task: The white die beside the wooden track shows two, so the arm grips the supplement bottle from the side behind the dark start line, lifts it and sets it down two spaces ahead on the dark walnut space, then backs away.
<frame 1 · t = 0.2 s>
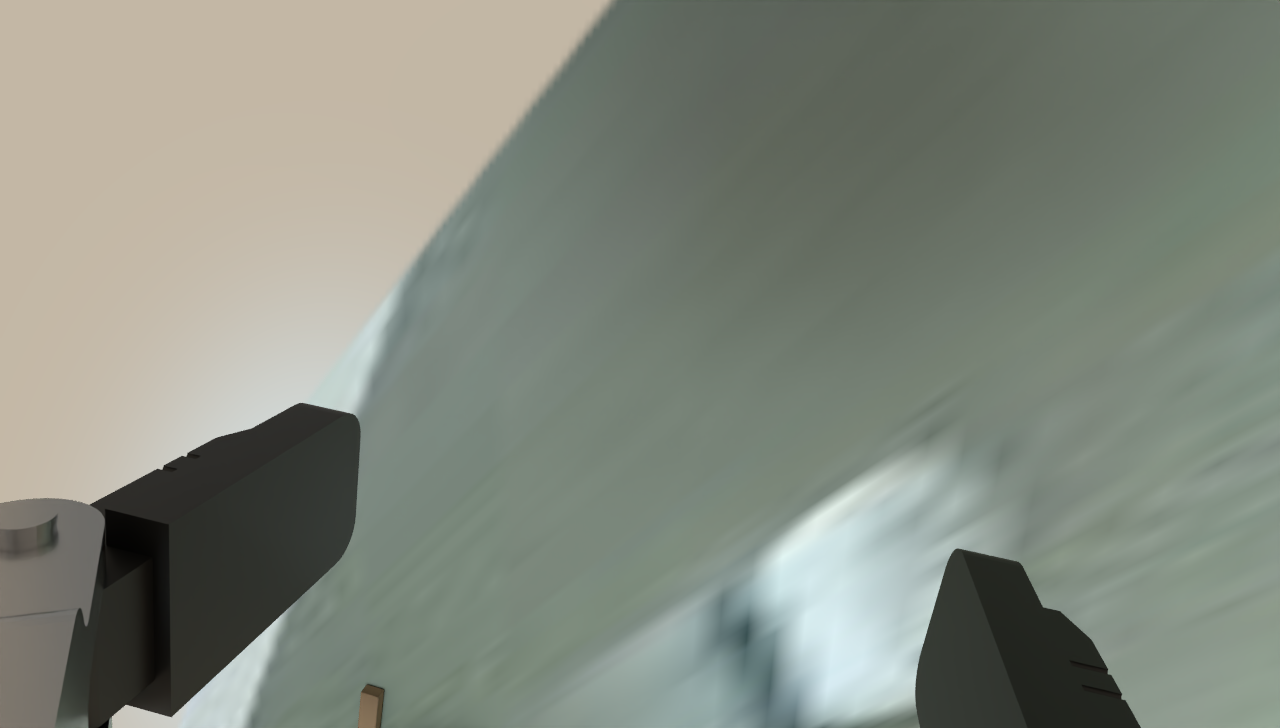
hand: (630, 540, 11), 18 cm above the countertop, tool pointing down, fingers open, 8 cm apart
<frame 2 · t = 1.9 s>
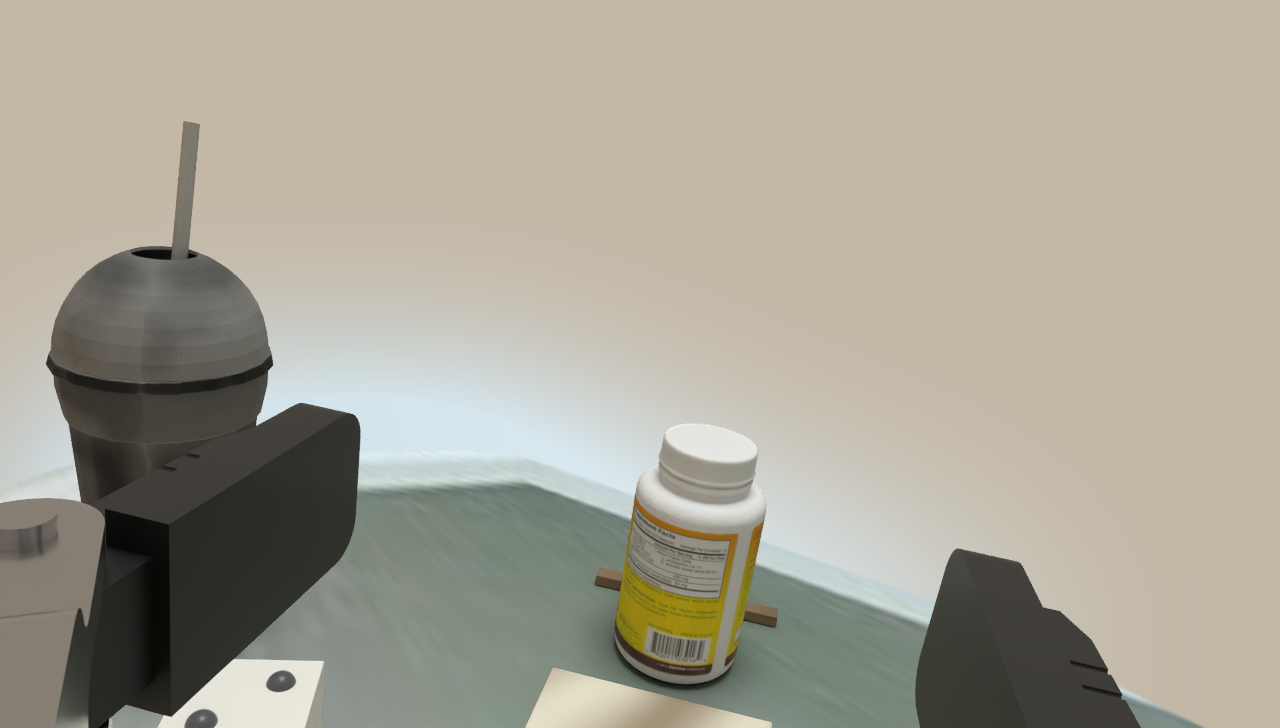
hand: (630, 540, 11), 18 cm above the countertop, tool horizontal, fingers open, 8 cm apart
supplement bottle: (671, 653, 38), on the countertop
beverage cup: (170, 629, 35), on the countertop
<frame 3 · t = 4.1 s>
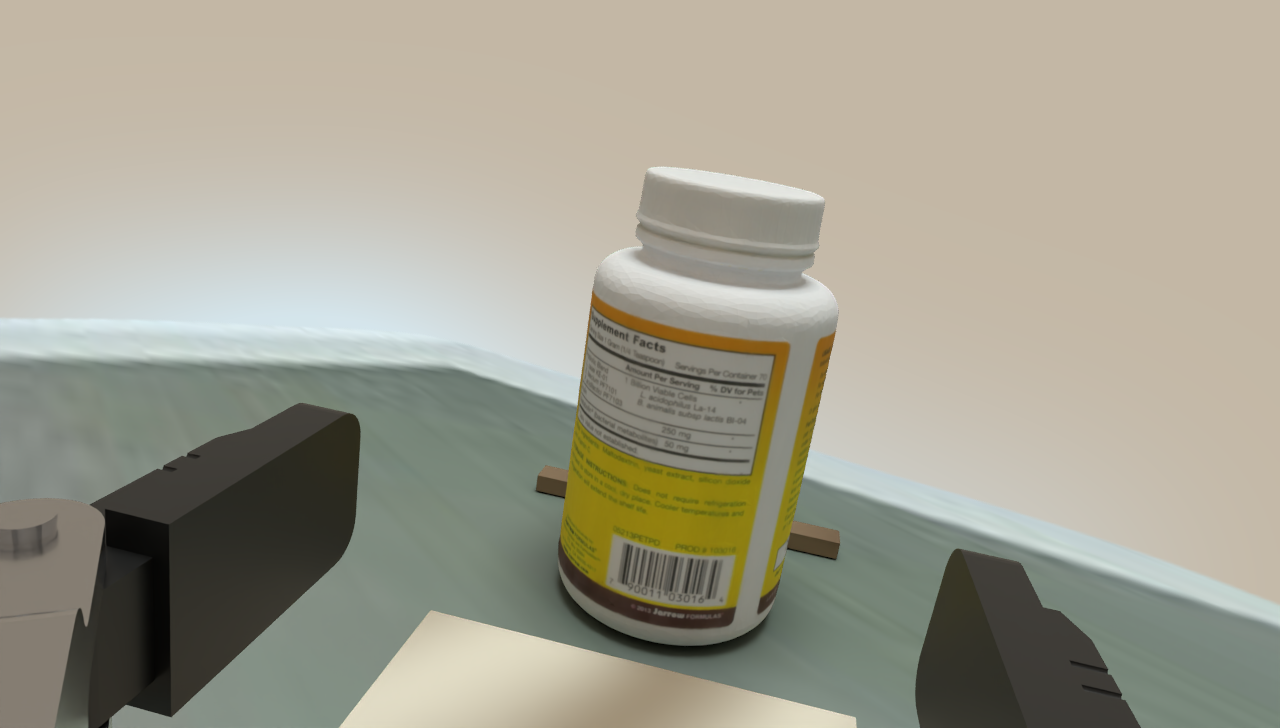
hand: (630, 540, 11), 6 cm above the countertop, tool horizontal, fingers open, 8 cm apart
supplement bottle: (660, 596, 22), on the countertop
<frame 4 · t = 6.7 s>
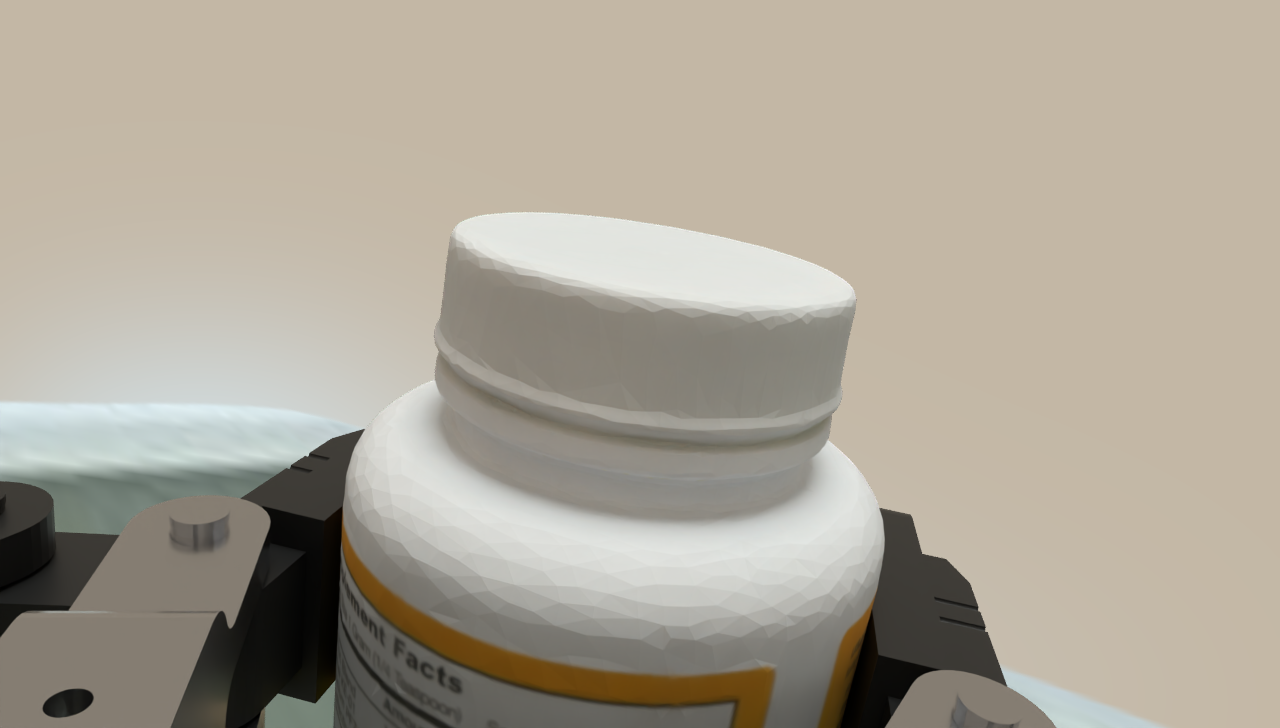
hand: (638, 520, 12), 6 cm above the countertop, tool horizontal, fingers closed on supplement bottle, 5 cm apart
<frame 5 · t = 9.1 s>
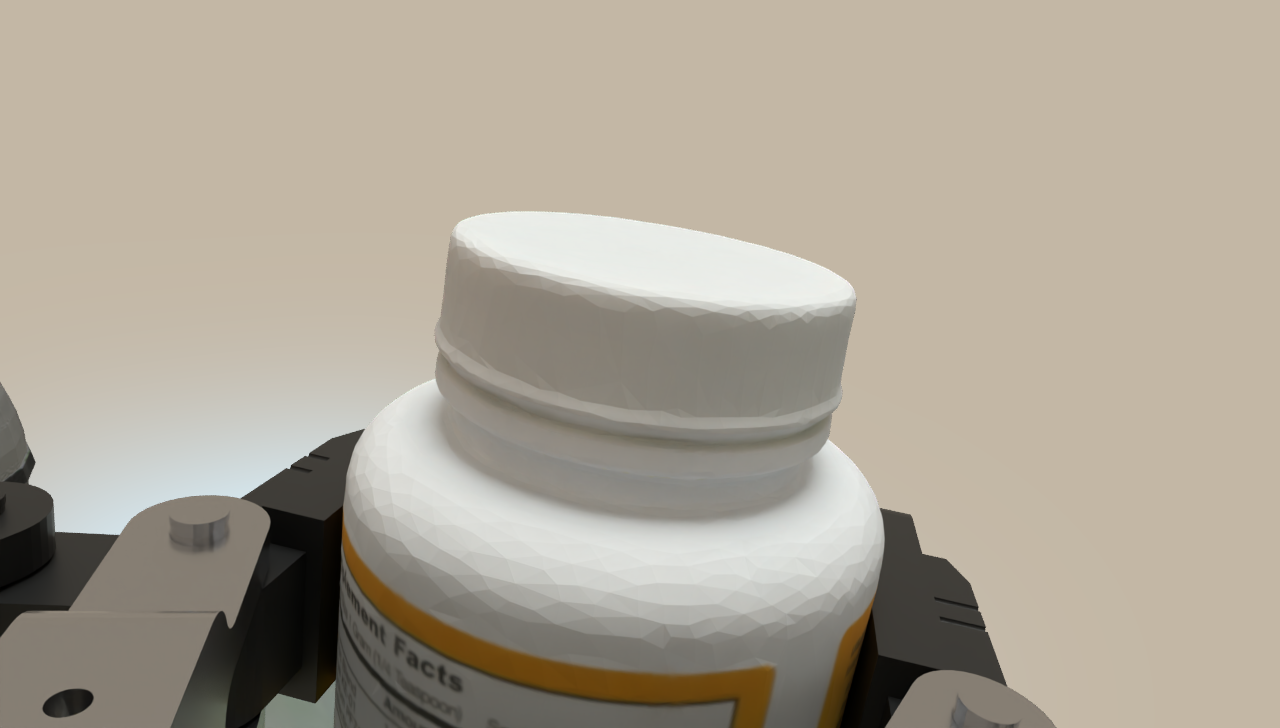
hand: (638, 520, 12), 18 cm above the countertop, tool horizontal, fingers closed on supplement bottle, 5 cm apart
when the fingers open (7 cm above the countertop, at t = 11.6 s): supplement bottle stays where it is, resting on game track.
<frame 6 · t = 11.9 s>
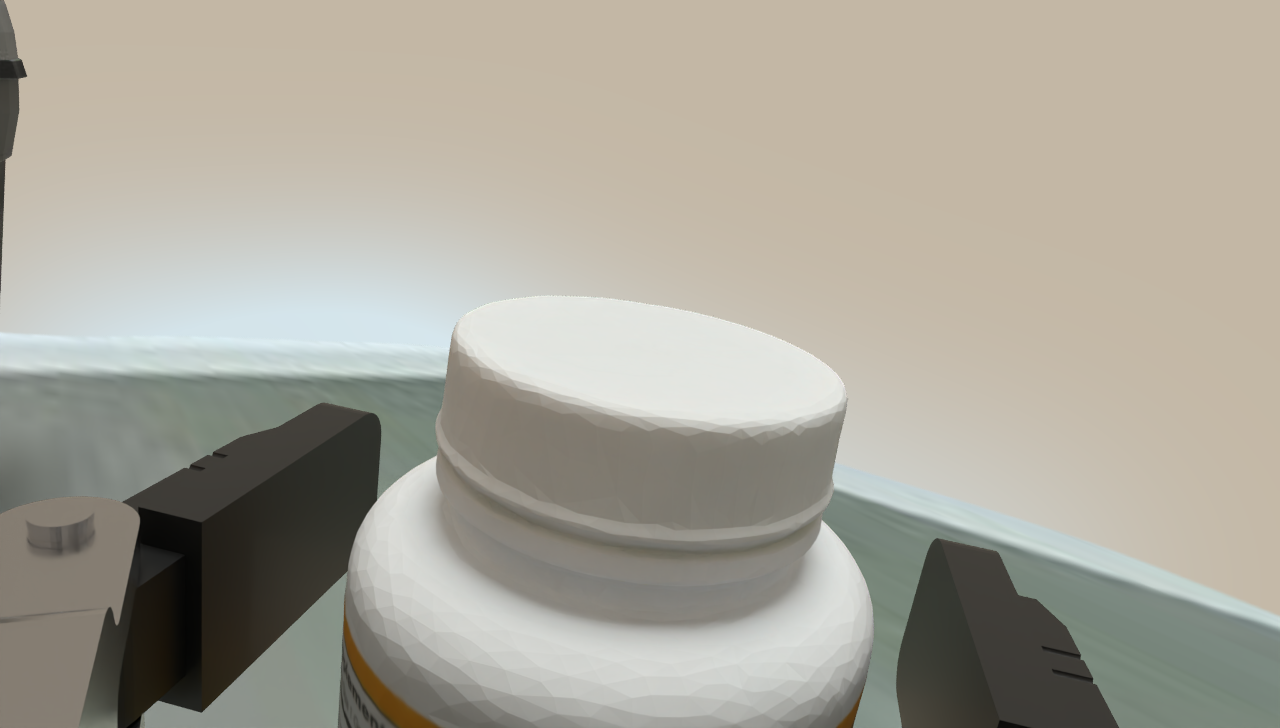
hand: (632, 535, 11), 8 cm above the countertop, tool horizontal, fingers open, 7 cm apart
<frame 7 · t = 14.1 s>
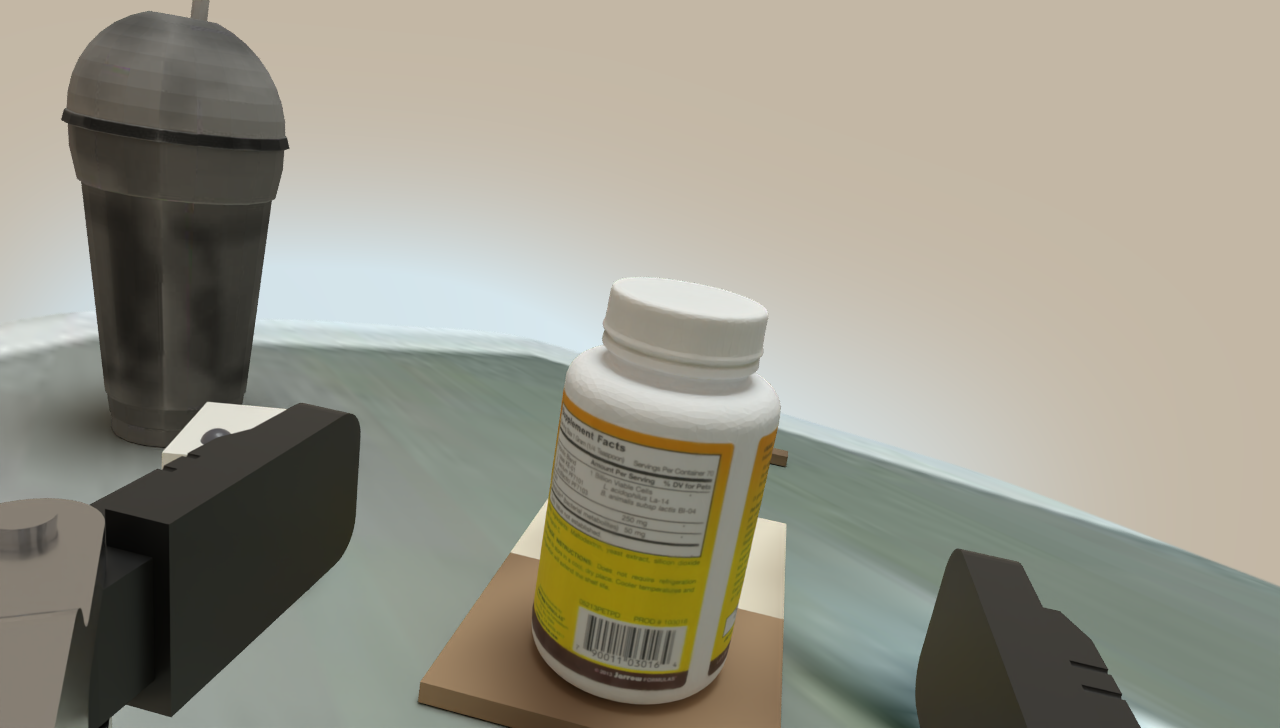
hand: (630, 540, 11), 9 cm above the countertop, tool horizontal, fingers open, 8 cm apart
supplement bottle: (624, 655, 24), resting on game track
beverage cup: (177, 429, 34), on the countertop
game track: (657, 551, 31), on the countertop
die: (253, 550, 27), on the countertop
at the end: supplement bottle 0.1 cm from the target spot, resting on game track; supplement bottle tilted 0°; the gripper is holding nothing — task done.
